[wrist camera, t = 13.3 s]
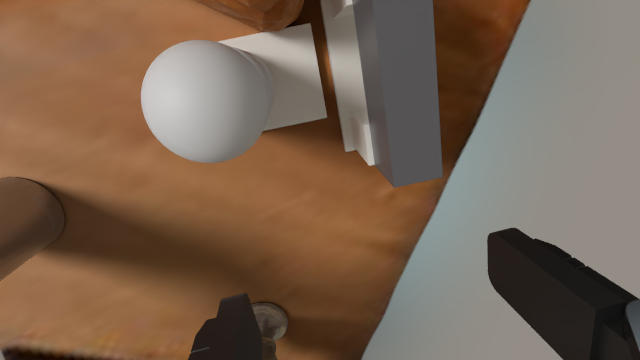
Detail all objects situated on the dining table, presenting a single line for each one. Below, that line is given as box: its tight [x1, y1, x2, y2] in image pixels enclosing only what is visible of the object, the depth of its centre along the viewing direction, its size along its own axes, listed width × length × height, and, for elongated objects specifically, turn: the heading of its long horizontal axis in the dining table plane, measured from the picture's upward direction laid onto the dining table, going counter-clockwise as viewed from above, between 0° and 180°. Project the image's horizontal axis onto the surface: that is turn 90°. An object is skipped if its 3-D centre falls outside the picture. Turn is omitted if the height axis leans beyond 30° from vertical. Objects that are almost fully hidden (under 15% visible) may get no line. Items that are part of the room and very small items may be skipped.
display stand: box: [141, 0, 375, 166], centre depth 27 cm, size 22×19×19 cm
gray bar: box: [352, 0, 443, 188], centre depth 25 cm, size 18×4×6 cm, turn 11°
